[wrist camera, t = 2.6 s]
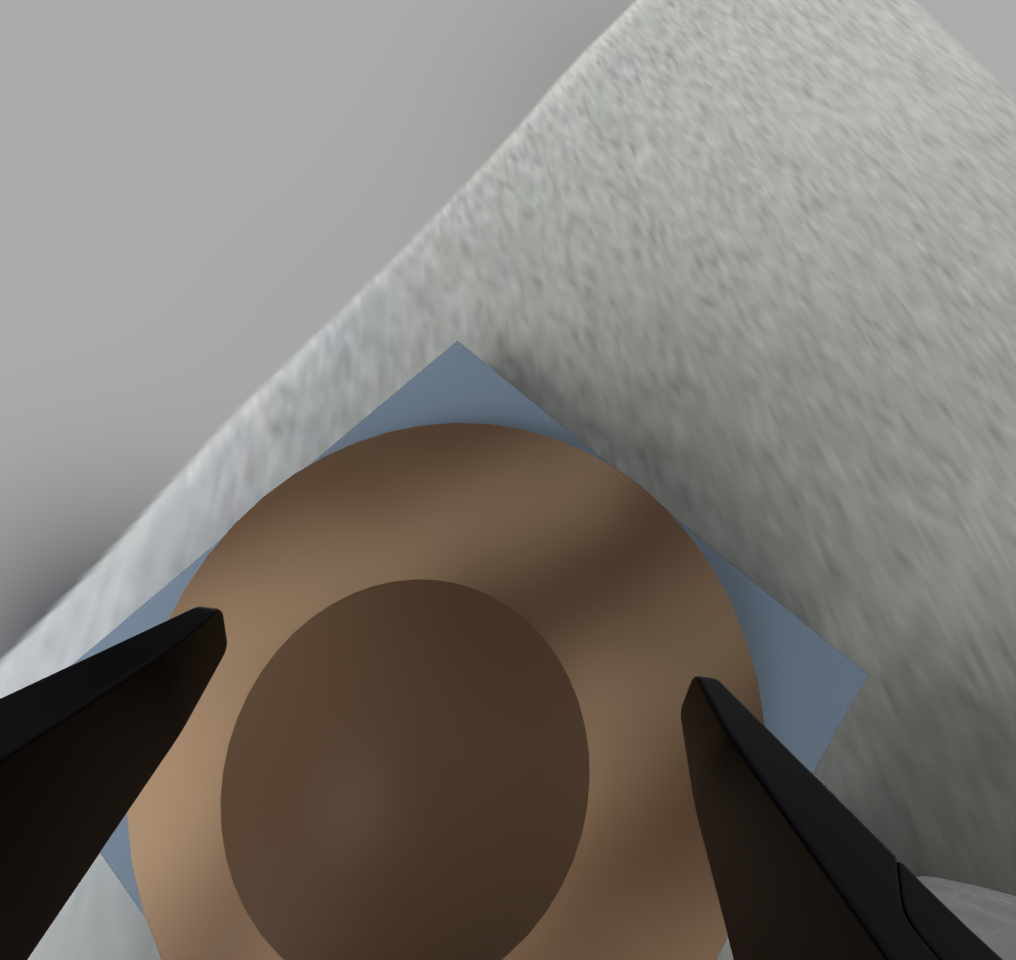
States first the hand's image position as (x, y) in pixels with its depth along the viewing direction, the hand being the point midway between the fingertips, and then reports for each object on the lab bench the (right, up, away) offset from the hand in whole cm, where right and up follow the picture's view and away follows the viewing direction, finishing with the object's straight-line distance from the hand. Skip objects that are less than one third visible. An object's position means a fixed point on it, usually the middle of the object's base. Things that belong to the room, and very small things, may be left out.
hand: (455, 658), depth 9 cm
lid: (0, -3, +4) cm, 5 cm away
